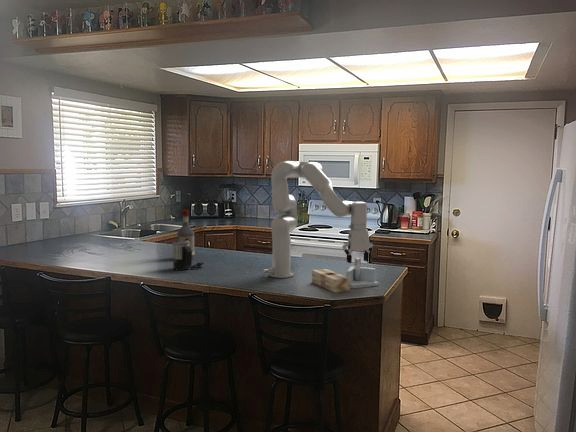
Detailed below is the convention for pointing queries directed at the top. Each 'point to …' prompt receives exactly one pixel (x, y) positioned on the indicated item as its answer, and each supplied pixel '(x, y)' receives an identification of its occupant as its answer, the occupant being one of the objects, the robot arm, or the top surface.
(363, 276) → the grey angled piece
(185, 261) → the milk frother
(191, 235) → the liquor
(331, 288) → the beam
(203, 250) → the top surface
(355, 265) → the axle
